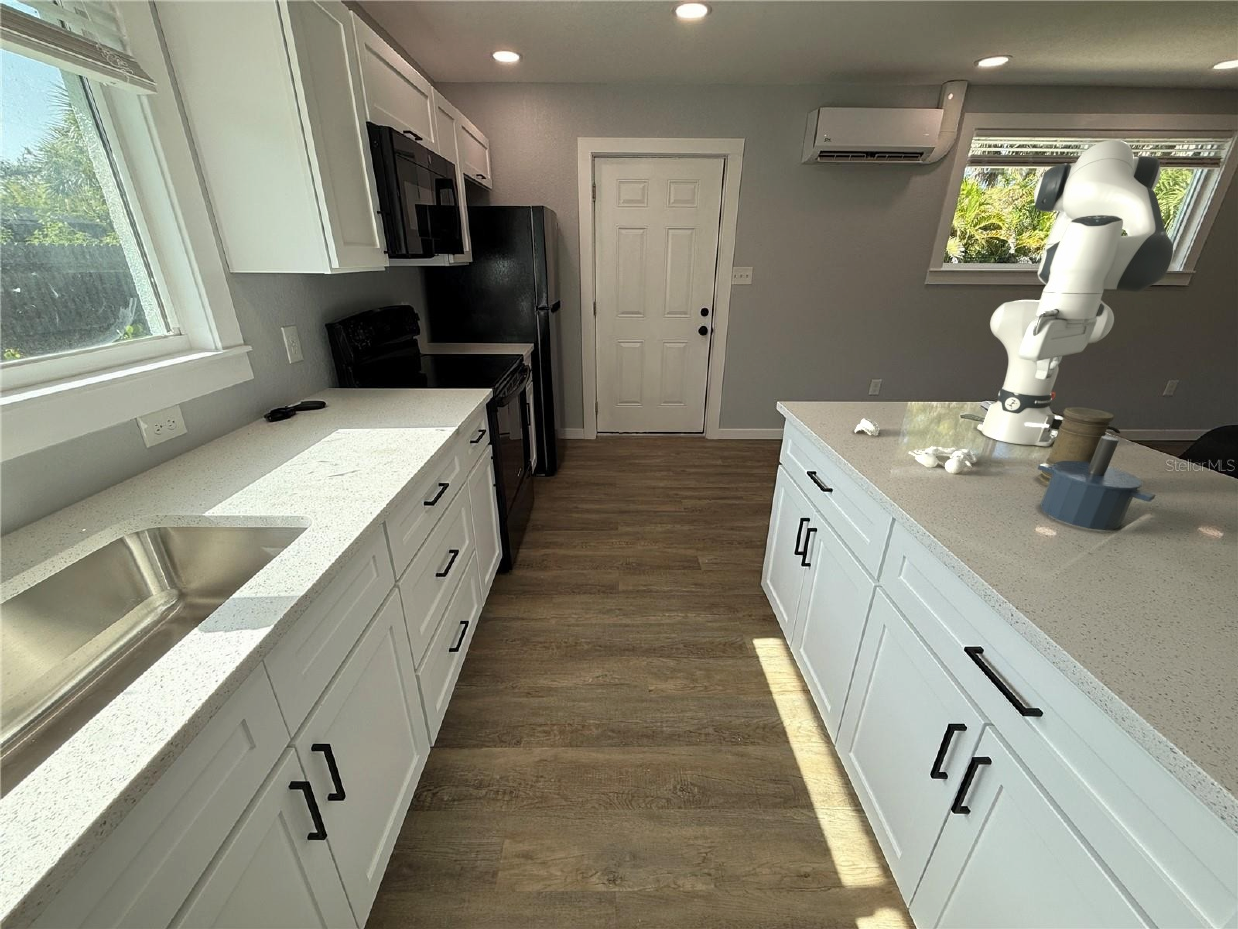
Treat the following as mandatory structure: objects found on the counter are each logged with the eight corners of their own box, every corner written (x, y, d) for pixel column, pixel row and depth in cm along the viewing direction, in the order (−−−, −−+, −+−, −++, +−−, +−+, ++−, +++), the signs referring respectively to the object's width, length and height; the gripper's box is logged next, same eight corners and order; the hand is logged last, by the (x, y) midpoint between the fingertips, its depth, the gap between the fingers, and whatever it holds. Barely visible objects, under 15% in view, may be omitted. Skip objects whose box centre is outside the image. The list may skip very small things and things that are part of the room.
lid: (1068, 460, 107) (1082, 423, 104) (1151, 483, 96) (1170, 442, 93) (1038, 473, 101) (1052, 434, 98) (1123, 499, 90) (1142, 455, 87)
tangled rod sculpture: (927, 449, 141) (929, 436, 140) (987, 460, 130) (990, 445, 129) (899, 465, 129) (902, 450, 128) (963, 478, 119) (966, 462, 117)
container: (1096, 494, 112) (1127, 419, 105) (1051, 491, 113) (1079, 416, 106) (1071, 478, 120) (1098, 407, 113) (1029, 475, 121) (1054, 405, 114)
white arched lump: (856, 430, 156) (857, 415, 155) (879, 432, 153) (881, 416, 151) (853, 436, 150) (854, 420, 148) (878, 437, 146) (879, 421, 145)
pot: (1041, 493, 112) (1056, 455, 108) (1147, 528, 98) (1167, 485, 94) (1014, 506, 107) (1028, 466, 103) (1121, 544, 92) (1141, 500, 89)
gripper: (1061, 312, 88) (1036, 387, 94) (1109, 306, 97) (1084, 375, 103) (1021, 309, 93) (999, 380, 99) (1070, 304, 102) (1048, 369, 108)
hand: (1043, 378), depth 101 cm, fingers closed
